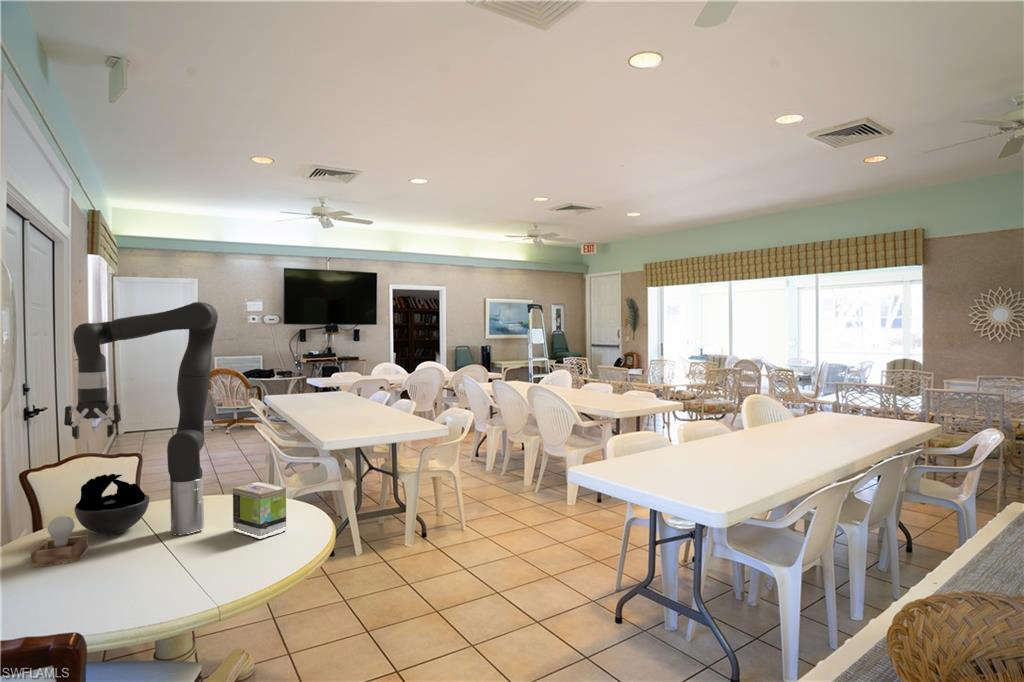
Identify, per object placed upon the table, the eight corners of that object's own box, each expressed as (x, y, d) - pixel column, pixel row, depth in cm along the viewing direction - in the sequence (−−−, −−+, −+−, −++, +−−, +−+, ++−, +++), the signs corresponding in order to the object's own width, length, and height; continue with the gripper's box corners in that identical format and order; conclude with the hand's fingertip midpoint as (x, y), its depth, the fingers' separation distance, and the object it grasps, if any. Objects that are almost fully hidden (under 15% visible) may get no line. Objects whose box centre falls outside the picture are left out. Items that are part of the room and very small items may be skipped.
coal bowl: (89, 525, 192) (88, 470, 191) (157, 519, 198) (156, 465, 198) (63, 547, 173) (62, 485, 172) (139, 539, 179) (138, 480, 179)
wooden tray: (89, 547, 172) (88, 534, 172) (77, 561, 162) (77, 547, 162) (44, 553, 168) (44, 539, 168) (29, 567, 158) (29, 553, 158)
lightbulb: (56, 559, 161) (56, 520, 161) (42, 555, 163) (42, 517, 163) (79, 551, 167) (79, 514, 167) (65, 548, 169) (65, 511, 169)
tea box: (287, 531, 186) (287, 486, 186) (259, 541, 177) (259, 494, 177) (259, 523, 194) (259, 480, 194) (231, 532, 186) (231, 487, 185)
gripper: (60, 388, 173) (61, 441, 173) (116, 386, 178) (117, 438, 179) (68, 386, 180) (69, 437, 180) (122, 384, 185) (123, 433, 186)
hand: (93, 437), depth 179 cm, fingers open, 8 cm apart
